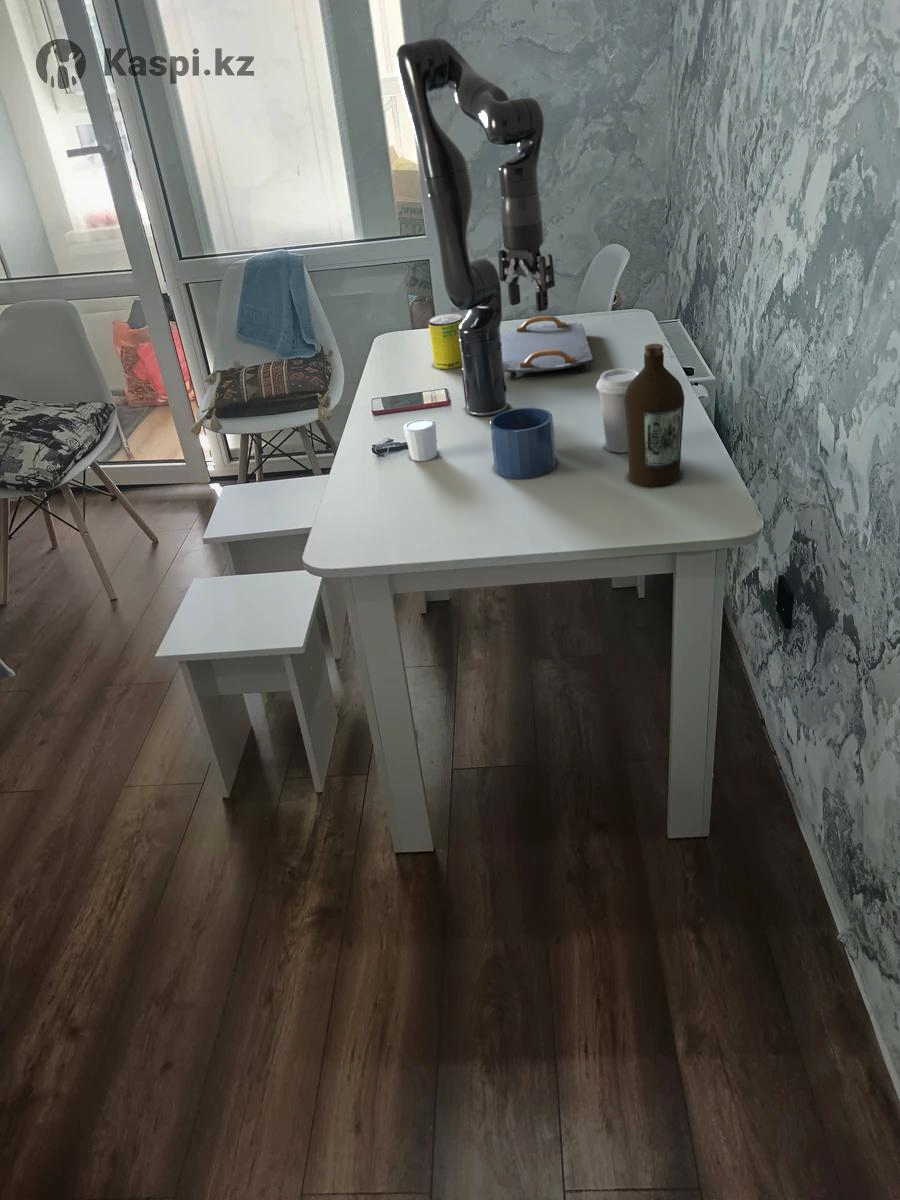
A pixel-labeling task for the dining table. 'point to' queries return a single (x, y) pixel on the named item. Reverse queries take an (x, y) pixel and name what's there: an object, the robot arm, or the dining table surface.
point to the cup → (523, 442)
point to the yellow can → (445, 341)
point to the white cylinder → (421, 439)
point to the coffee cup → (615, 406)
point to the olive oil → (654, 422)
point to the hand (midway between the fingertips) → (528, 307)
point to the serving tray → (545, 347)
